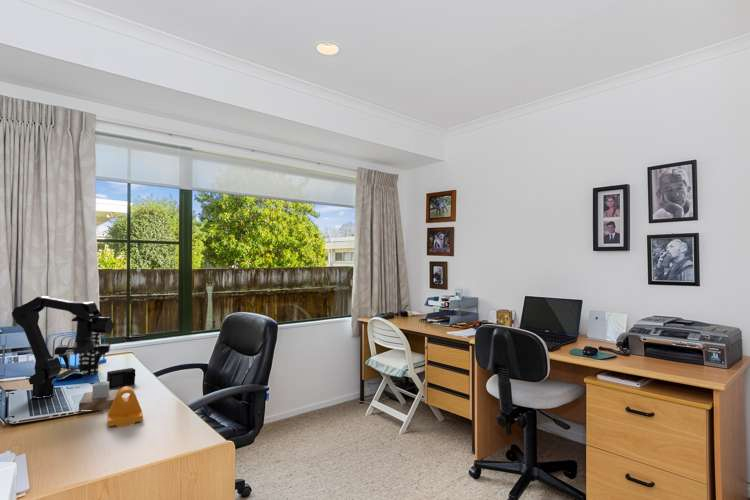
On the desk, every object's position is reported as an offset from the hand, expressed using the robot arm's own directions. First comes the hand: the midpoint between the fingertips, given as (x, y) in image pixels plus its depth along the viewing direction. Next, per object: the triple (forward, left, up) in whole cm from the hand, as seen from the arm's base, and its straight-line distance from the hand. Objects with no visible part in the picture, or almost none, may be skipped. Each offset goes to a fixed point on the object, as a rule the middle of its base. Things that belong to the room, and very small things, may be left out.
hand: (81, 369), depth 176 cm
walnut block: (+8, -12, -12) cm, 19 cm away
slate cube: (+8, -12, -8) cm, 17 cm away
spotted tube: (-2, +40, -12) cm, 42 cm away
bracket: (+18, -35, -12) cm, 41 cm away
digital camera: (+14, +12, -12) cm, 22 cm away
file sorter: (-11, +64, -12) cm, 66 cm away
